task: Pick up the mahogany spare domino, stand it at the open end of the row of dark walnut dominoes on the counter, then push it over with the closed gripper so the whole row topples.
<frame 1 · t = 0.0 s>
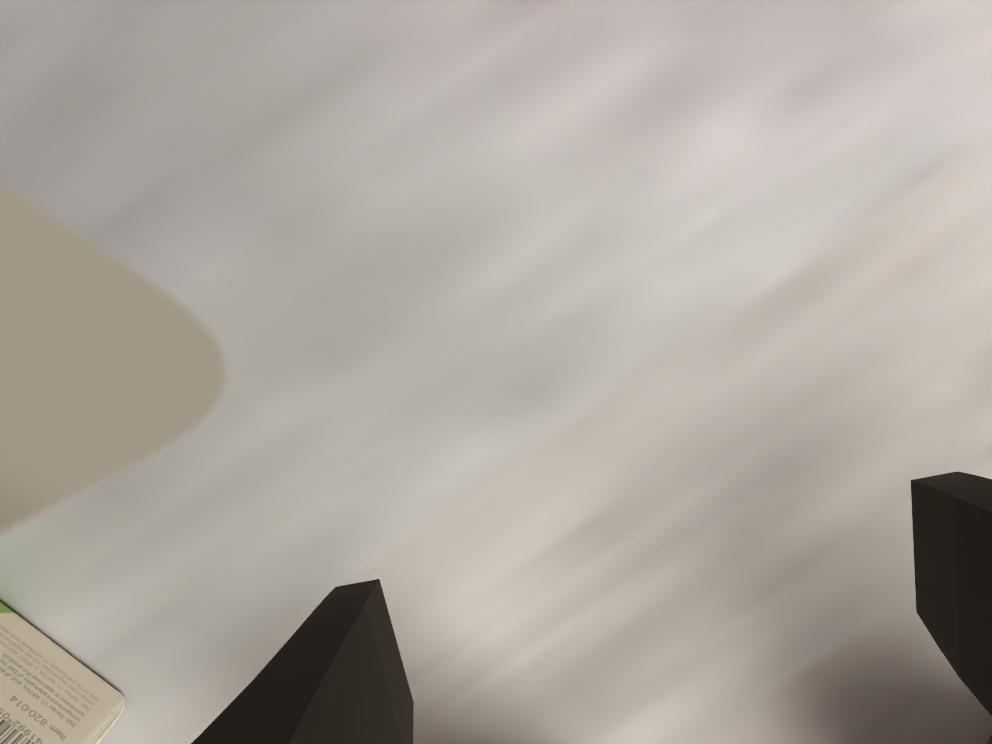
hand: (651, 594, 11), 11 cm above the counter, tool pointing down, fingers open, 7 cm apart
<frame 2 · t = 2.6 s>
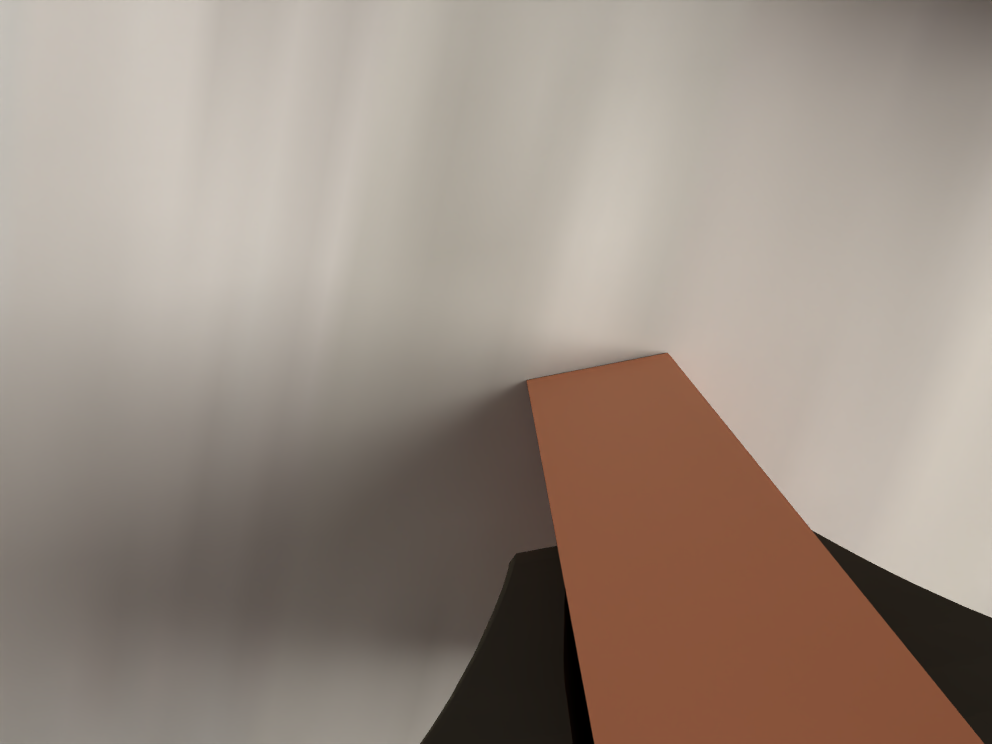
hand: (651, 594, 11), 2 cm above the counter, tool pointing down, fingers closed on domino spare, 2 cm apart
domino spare: (620, 510, 13), on the counter, touching gripper
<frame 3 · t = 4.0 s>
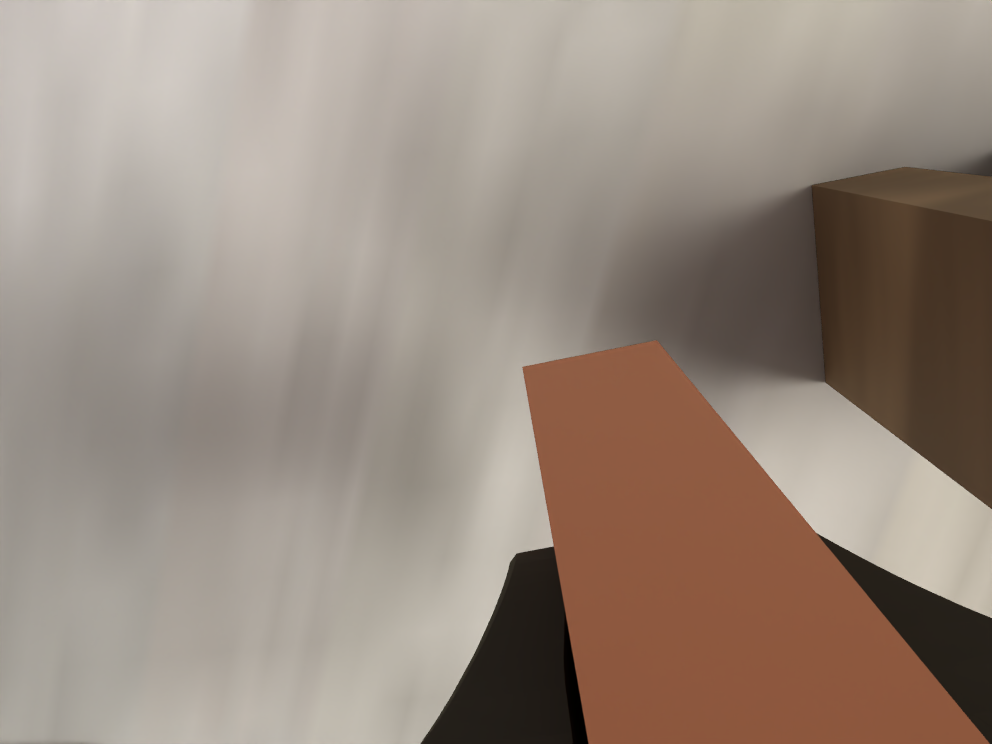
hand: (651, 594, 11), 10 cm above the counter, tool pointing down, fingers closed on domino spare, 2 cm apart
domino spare: (613, 492, 14), point 7 cm above the counter, touching gripper
domino 5: (863, 279, 20), on the counter
when the fingers open (4 cm above the counter, at t = 5.7 s): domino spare stays where it is, on the counter.
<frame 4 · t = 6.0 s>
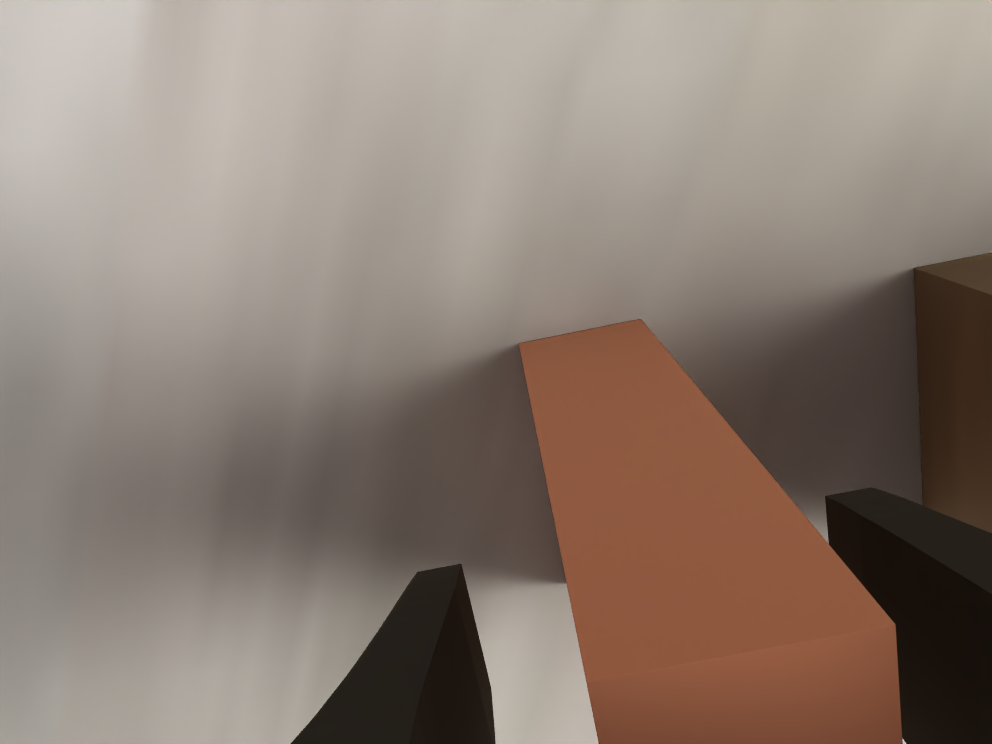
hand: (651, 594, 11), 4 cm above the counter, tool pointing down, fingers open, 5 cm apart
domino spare: (601, 458, 15), on the counter
domino 5: (979, 388, 15), on the counter
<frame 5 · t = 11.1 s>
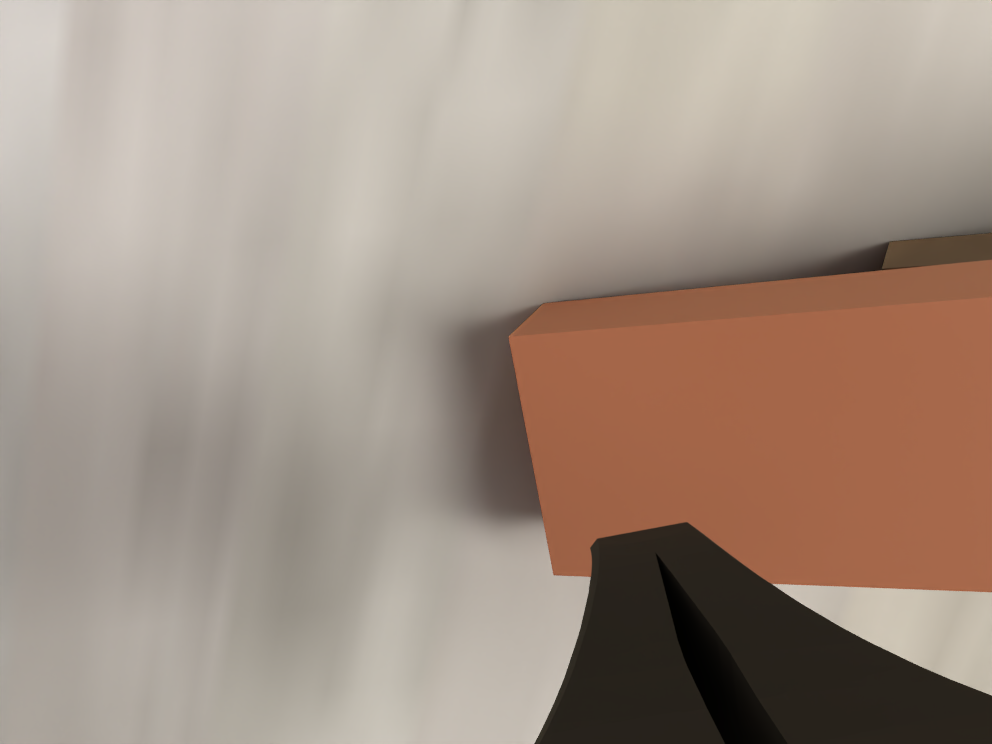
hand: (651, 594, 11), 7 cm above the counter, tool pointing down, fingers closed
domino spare: (548, 437, 16), point 1 cm above the counter, tilted 69°, touching domino 5
domino 5: (891, 377, 16), point 1 cm above the counter, tilted 61°, touching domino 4, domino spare
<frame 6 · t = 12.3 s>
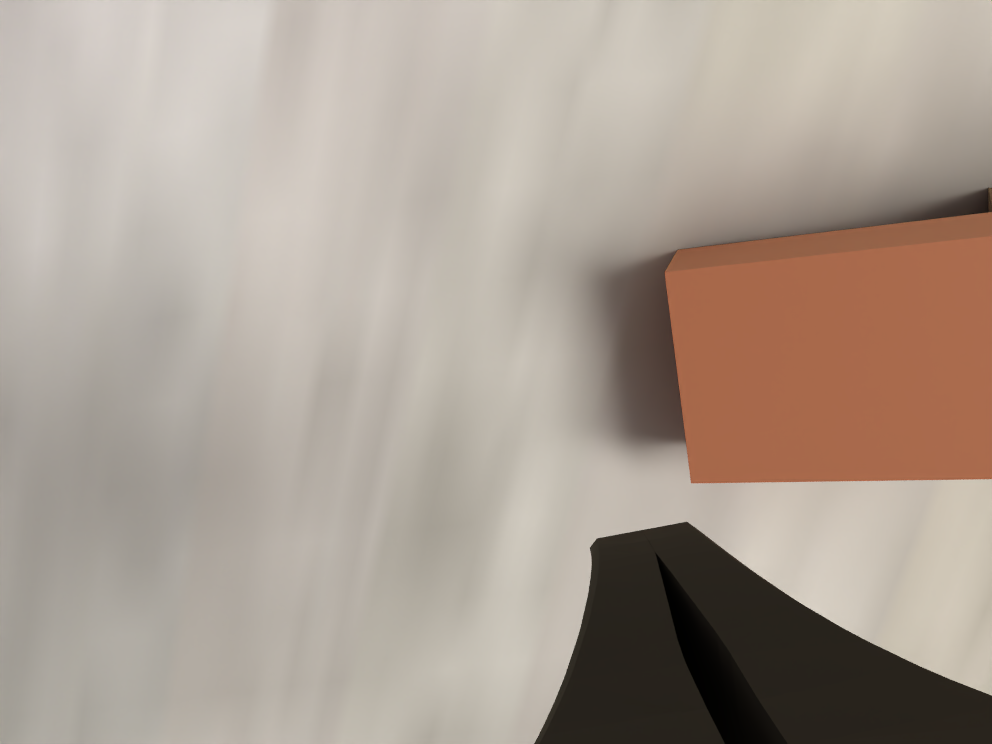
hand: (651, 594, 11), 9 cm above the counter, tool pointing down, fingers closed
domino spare: (684, 365, 19), point 1 cm above the counter, tilted 69°, touching domino 5
domino 5: (990, 305, 19), point 1 cm above the counter, tilted 61°, touching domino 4, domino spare
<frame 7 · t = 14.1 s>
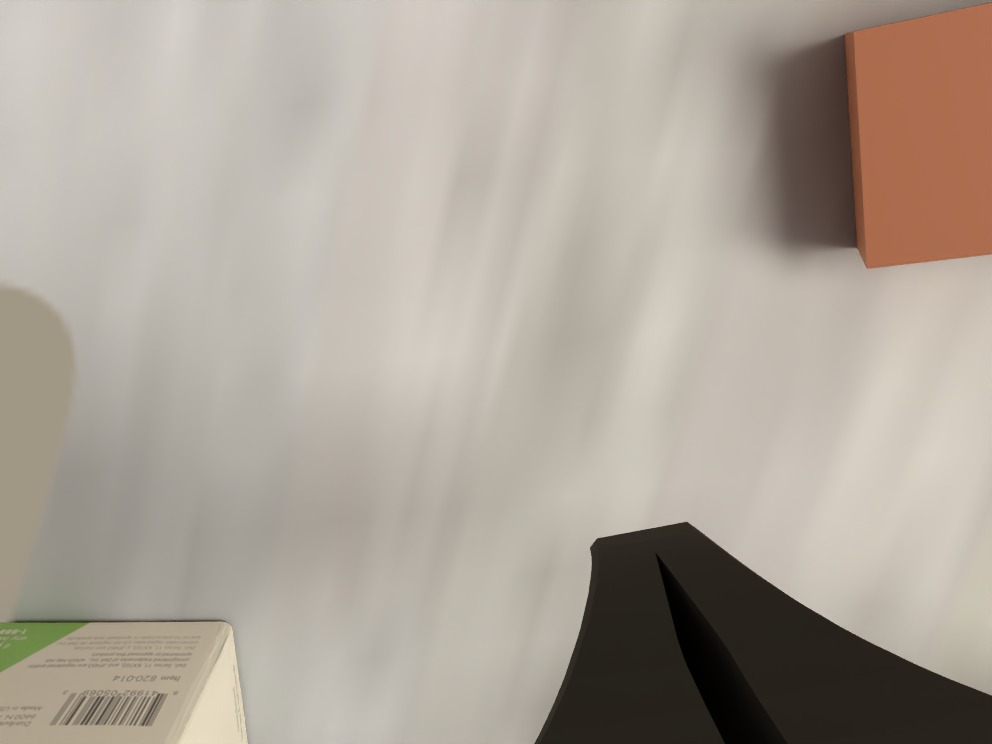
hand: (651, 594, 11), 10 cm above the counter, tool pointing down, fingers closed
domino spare: (855, 150, 18), point 1 cm above the counter, tilted 71°, touching domino 5
ink box: (103, 685, 24), on the counter
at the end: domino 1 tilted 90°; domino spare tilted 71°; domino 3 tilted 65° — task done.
